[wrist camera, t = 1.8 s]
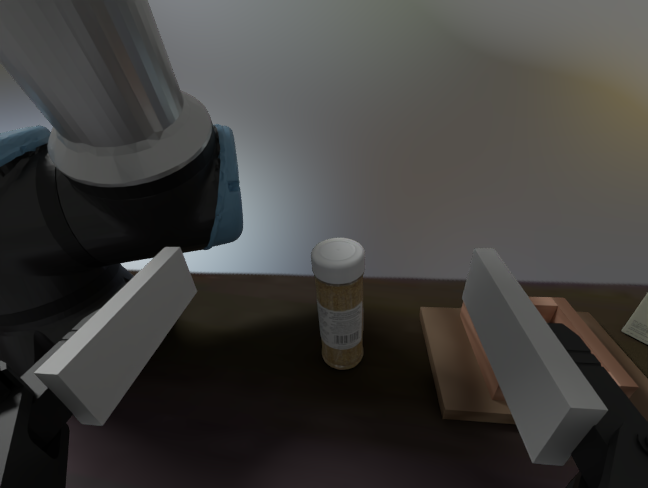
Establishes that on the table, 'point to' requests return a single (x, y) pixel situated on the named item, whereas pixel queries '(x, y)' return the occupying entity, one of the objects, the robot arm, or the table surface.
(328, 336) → the sprinkles bottle
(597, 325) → the collar plate
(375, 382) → the table surface
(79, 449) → the table surface
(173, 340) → the table surface
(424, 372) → the table surface
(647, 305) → the skincare box
